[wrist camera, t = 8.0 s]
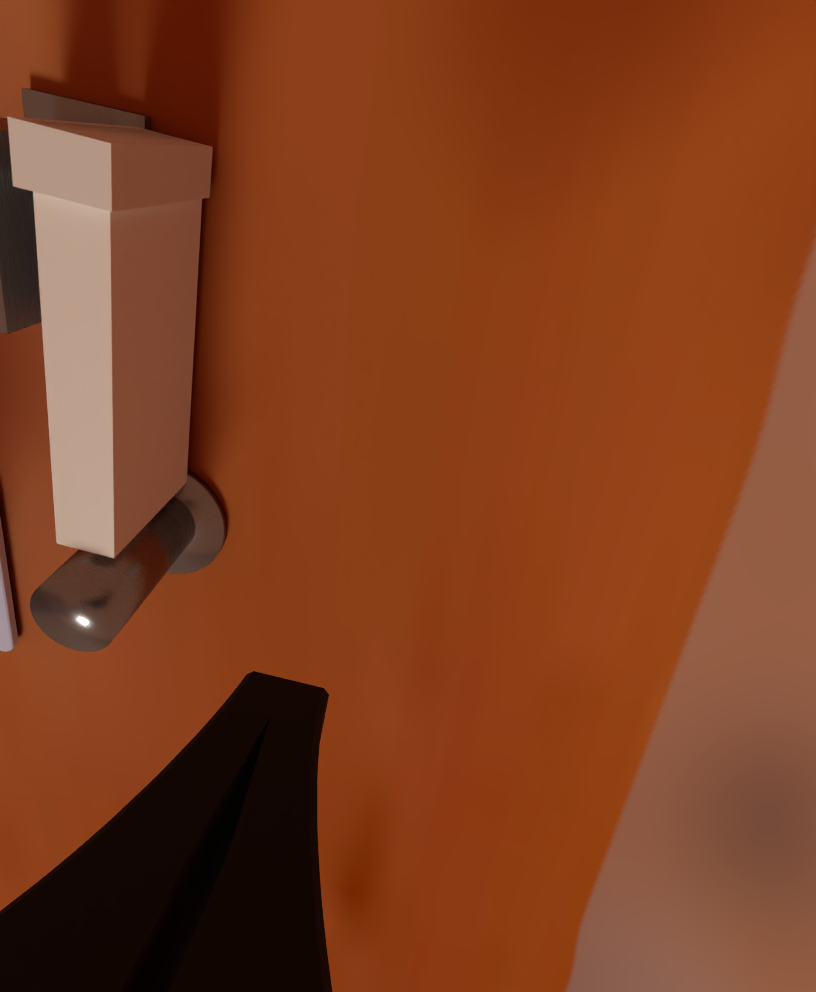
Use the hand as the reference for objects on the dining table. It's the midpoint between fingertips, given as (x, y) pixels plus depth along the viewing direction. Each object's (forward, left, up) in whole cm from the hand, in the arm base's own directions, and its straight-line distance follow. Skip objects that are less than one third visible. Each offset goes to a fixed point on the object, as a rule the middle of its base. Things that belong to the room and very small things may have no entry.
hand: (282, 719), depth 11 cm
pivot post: (-7, -4, -10) cm, 13 cm away
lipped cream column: (-7, +3, -10) cm, 13 cm away
